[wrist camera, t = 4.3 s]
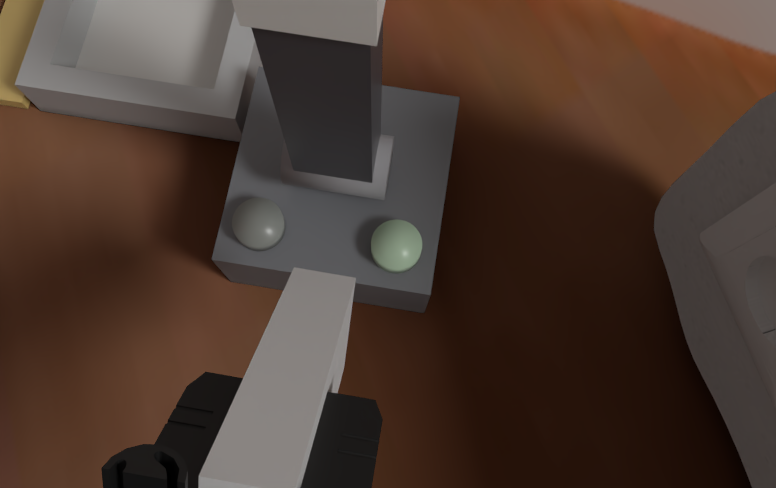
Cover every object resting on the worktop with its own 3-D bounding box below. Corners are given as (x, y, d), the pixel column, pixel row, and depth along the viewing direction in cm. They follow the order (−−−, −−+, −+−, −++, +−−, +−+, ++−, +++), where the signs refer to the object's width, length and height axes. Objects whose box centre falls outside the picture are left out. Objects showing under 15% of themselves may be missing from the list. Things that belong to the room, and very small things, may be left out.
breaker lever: (285, 193, 22) (201, -45, 11) (297, 137, 23) (229, -140, 12) (383, 209, 22) (391, -17, 11) (393, 152, 23) (409, -114, 12)
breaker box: (230, 281, 25) (206, 254, 21) (271, 107, 27) (255, 56, 23) (424, 313, 24) (432, 290, 21) (450, 135, 26) (461, 88, 23)
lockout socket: (-23, 100, 26) (-54, 73, 25) (40, -69, 29) (16, -106, 27) (245, 143, 26) (234, 119, 24) (287, -33, 28) (281, -67, 27)
